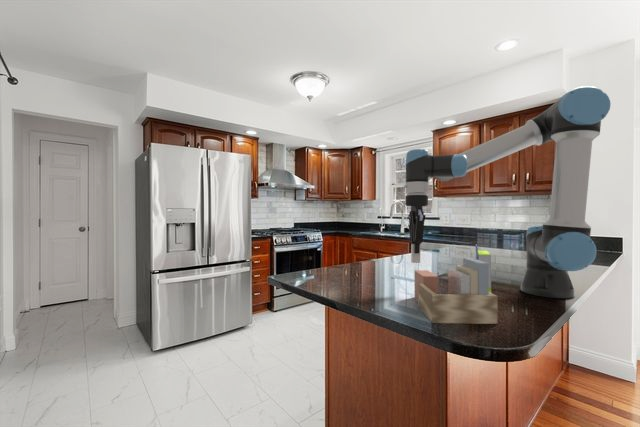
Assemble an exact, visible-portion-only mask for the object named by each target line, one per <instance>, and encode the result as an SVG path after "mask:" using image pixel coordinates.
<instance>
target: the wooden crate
mask: <svg viewBox="0 0 640 427" xmlns="http://www.w3.org/2000/svg"><path fill="white" fill-rule="evenodd" d="M418 309H419V310H420V311H421V310H422V311H421V312H422V313H423V314H424V315H425V316H426V317H427V319H429V320H430V322H432V324H472V325H473V324H477V325H478V324H479V325H482V324H484V325H485V324H486V325H487V324H488V325H489V324H490V325H491V324H492V325H494V324H495V325H496V324H497V325H498V295H496V294H494V293H492V292H491V293H490V292H489V295H466V294H448V293H446V294H445V293H444V294H441V293H440V294H439V293H438V294H435V293H434V292H433V291H431V290H430V289H429V288H427V287H426V286H425V285H424V284H419V301H418Z"/></svg>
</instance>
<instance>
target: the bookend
mask: <svg viewBox="0 0 640 427" xmlns="http://www.w3.org/2000/svg"><path fill="white" fill-rule="evenodd" d="M447 294H466V295H470V275H469V274H466V273H464V272H462V271H460V270H458V269H456V268H448V269H447Z"/></svg>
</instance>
